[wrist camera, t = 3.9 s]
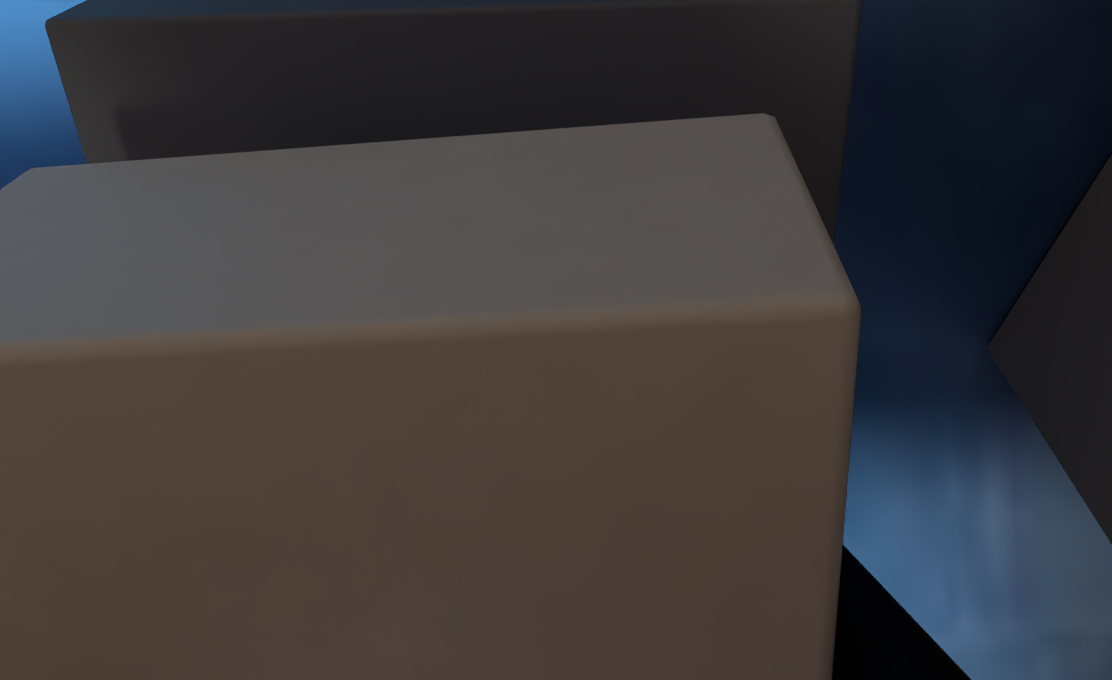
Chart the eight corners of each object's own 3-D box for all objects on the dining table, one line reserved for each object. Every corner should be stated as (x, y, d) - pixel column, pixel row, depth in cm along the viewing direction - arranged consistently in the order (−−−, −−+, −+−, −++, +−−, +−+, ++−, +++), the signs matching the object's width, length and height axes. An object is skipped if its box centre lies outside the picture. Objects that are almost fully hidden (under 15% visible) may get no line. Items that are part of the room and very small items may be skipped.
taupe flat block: (24, 163, 7) (-257, 364, 4) (776, 106, 6) (870, 298, 4) (275, 797, 10) (186, 1075, 8) (760, 789, 10) (803, 1083, 8)
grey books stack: (185, -65, 11) (-14, 24, 7) (779, -121, 10) (869, -54, 7) (341, 512, 15) (262, 740, 11) (764, 495, 14) (813, 727, 11)
